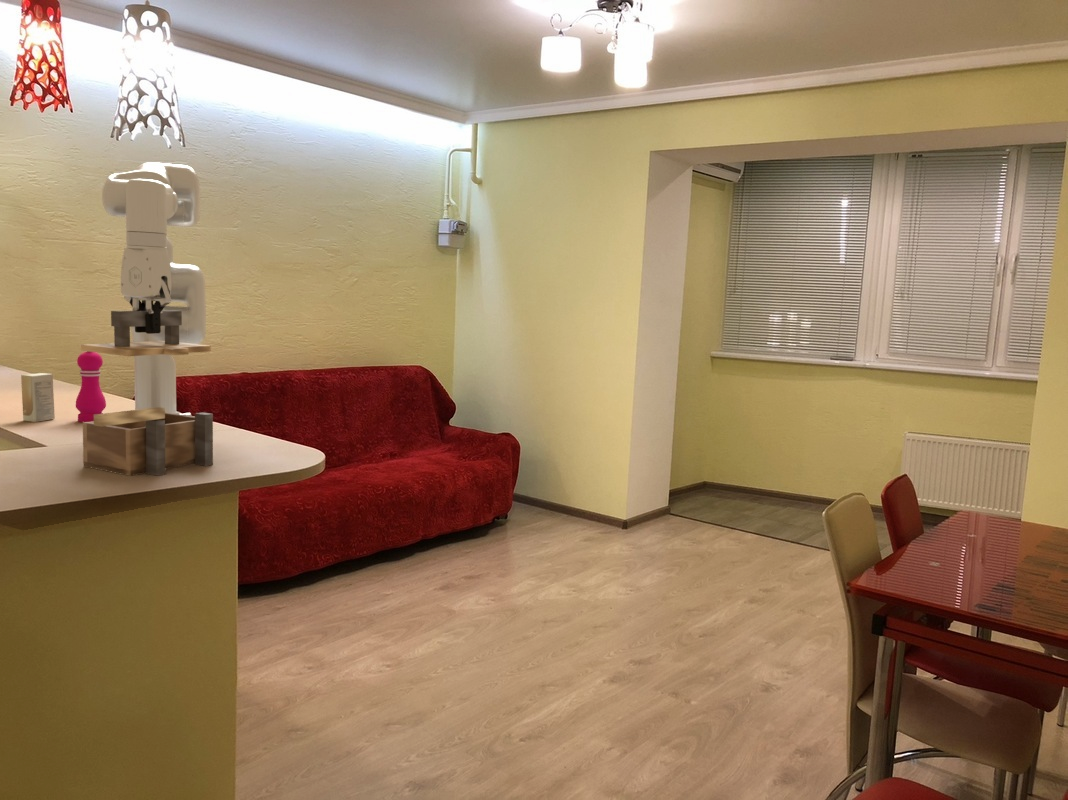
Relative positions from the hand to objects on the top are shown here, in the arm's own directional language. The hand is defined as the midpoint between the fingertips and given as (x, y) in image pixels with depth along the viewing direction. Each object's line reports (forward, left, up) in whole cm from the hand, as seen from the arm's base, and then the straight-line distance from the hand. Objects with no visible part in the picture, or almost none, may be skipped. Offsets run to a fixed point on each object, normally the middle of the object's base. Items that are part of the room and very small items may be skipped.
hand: (147, 332), depth 176 cm
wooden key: (+12, +10, -16) cm, 22 cm away
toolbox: (0, +2, -27) cm, 28 cm away
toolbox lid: (0, +1, -4) cm, 4 cm away
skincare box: (-19, -66, -28) cm, 74 cm away
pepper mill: (-27, -56, -28) cm, 68 cm away
